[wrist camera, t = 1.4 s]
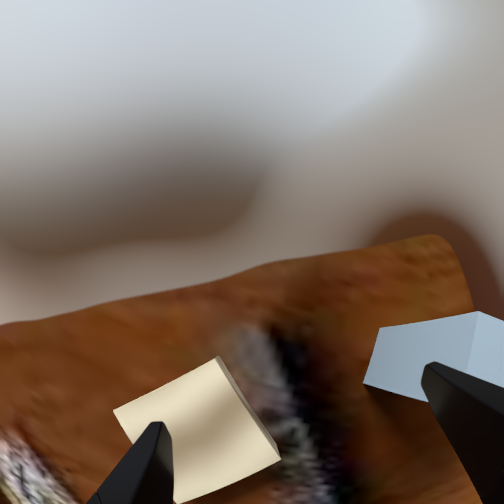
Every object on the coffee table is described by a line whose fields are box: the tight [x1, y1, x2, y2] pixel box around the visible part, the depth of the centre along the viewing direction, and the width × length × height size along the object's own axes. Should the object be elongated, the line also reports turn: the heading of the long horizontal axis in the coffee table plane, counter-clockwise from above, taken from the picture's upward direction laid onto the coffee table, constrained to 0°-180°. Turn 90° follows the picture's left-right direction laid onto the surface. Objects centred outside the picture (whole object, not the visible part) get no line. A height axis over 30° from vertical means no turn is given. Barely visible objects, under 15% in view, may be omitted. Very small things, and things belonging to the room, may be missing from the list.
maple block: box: [113, 356, 281, 504], centre depth 20 cm, size 9×9×4 cm
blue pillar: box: [363, 311, 504, 402], centre depth 18 cm, size 5×5×13 cm
